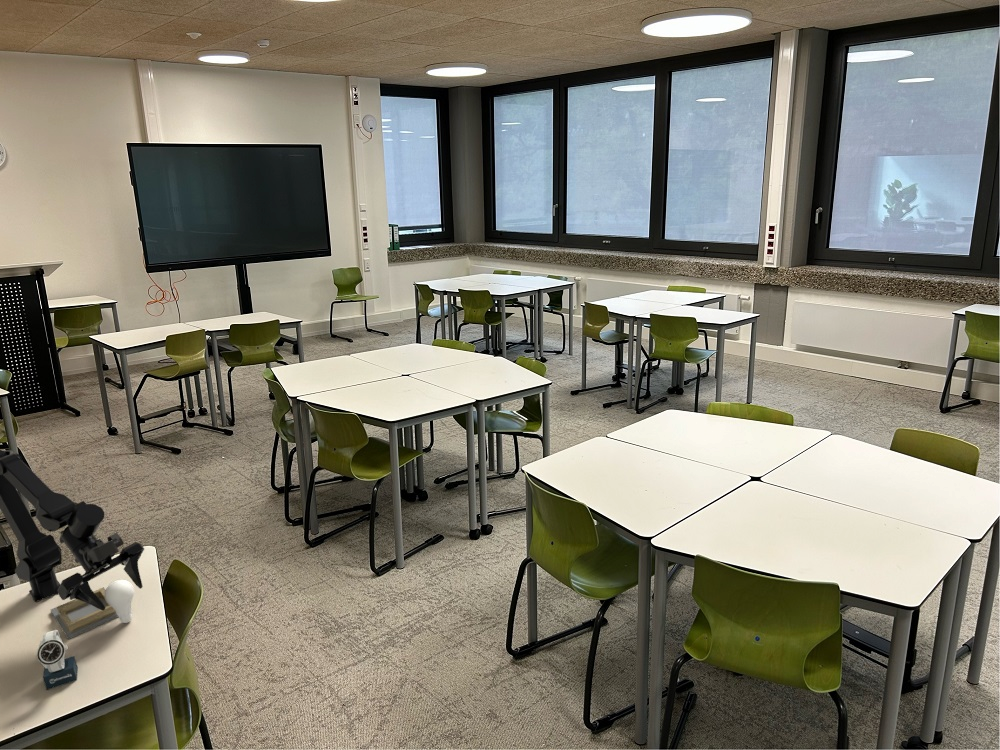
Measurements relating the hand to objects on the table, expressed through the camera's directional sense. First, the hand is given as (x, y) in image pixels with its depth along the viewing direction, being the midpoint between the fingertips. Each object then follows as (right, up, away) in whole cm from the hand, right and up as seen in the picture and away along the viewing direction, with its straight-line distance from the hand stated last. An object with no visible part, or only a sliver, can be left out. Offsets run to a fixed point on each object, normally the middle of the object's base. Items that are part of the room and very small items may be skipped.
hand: (123, 598), depth 164 cm
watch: (-5, -13, -15) cm, 20 cm away
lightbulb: (-1, -7, +3) cm, 7 cm away
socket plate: (-13, -6, +7) cm, 15 cm away
